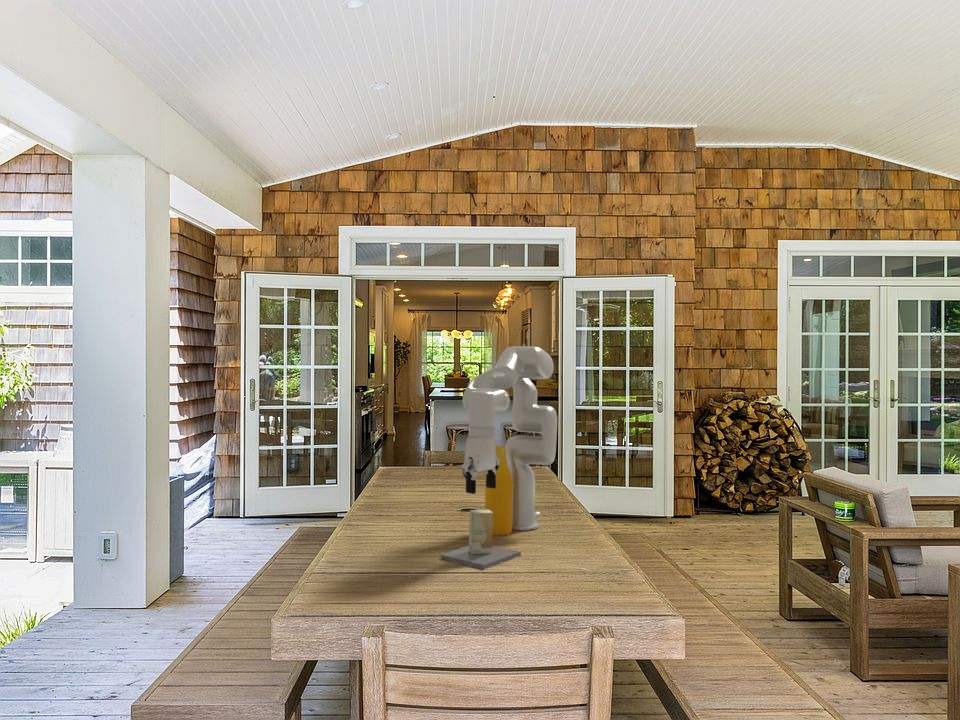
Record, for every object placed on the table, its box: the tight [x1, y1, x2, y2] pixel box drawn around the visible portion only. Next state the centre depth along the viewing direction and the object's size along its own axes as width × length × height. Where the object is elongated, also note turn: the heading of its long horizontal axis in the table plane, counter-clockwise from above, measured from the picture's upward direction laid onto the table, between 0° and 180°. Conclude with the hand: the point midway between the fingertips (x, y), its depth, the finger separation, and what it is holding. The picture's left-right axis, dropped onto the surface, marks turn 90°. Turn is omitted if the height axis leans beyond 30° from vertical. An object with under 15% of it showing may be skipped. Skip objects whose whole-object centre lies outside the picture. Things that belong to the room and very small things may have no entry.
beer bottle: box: [484, 445, 513, 536], centre depth 236 cm, size 9×9×29 cm
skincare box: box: [468, 509, 493, 554], centre depth 208 cm, size 6×4×12 cm
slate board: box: [439, 544, 522, 570], centre depth 207 cm, size 18×16×1 cm
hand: (481, 490), depth 208 cm, fingers open, 9 cm apart
